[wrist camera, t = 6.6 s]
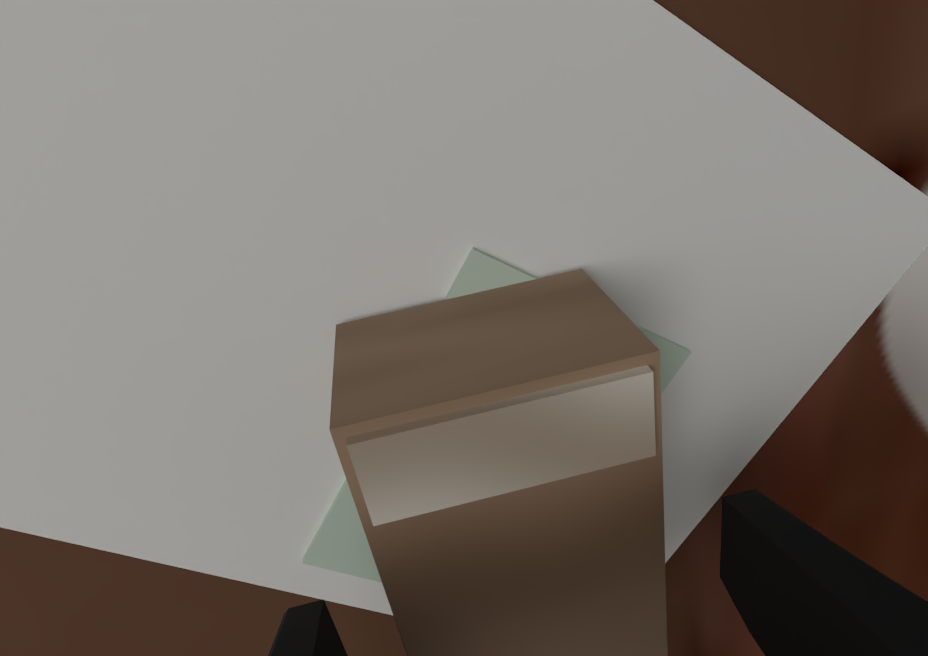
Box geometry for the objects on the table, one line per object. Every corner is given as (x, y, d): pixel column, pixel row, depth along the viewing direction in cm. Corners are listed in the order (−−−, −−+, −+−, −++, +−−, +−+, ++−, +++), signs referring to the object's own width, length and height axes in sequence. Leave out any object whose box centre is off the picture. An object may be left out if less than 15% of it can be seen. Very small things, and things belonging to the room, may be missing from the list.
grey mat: (929, 207, 14) (961, 217, 13) (579, 640, 19) (589, 665, 18) (-120, -534, 7) (-174, -597, 6) (-242, 446, 12) (-279, 473, 11)
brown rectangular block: (606, 549, 16) (672, 684, 13) (419, 597, 15) (437, 750, 12) (581, 268, 12) (666, 356, 9) (336, 324, 12) (329, 437, 9)
